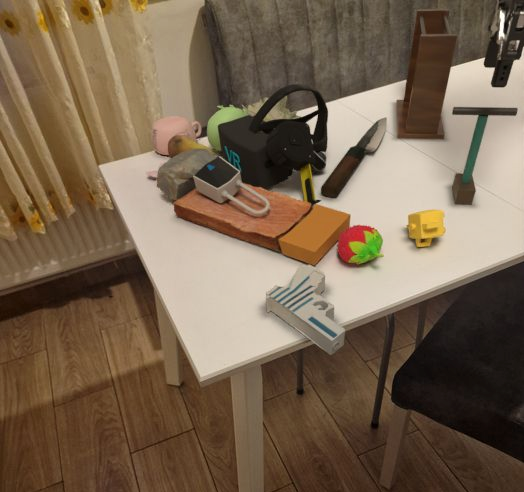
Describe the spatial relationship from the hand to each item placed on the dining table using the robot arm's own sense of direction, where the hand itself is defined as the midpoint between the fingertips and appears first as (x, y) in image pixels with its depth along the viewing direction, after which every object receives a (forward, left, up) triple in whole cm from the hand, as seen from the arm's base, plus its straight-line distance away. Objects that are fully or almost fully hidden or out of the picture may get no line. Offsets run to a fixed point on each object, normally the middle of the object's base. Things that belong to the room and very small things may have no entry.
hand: (493, 76), depth 79 cm
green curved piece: (+45, -15, -12) cm, 49 cm away
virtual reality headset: (+36, -9, -21) cm, 42 cm away
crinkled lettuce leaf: (+34, -33, -19) cm, 51 cm away
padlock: (+47, +7, -15) cm, 50 cm away
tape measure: (+28, +2, -15) cm, 32 cm away
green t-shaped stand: (0, 0, -21) cm, 21 cm away
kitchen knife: (+19, -14, -21) cm, 32 cm away
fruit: (+60, -9, -17) cm, 63 cm away
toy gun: (+21, +31, -19) cm, 42 cm away
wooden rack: (+6, -33, -21) cm, 40 cm away
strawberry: (+22, +18, -18) cm, 34 cm away
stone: (+54, +4, -22) cm, 58 cm away
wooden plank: (+37, +13, -21) cm, 44 cm away
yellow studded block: (+5, +14, -18) cm, 24 cm away
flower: (+58, -3, -21) cm, 62 cm away
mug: (+60, -17, -15) cm, 64 cm away
